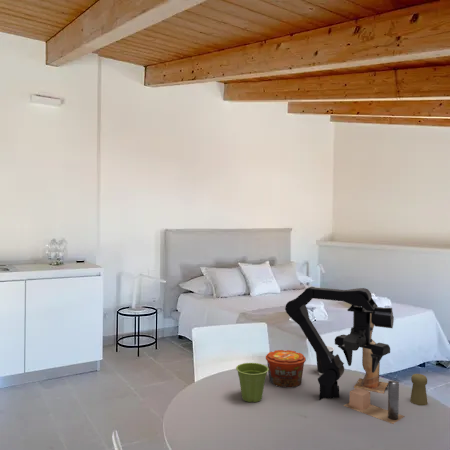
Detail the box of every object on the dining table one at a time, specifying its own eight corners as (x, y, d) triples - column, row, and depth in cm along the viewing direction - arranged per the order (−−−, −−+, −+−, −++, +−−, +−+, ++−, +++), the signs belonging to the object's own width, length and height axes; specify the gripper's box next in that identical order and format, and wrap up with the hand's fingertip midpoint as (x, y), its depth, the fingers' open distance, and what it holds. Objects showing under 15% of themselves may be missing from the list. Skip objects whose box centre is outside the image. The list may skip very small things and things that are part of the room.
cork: (430, 410, 153) (430, 378, 153) (411, 408, 154) (412, 377, 154) (425, 403, 159) (426, 372, 158) (407, 401, 160) (408, 371, 160)
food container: (301, 391, 168) (301, 363, 168) (260, 385, 174) (260, 358, 173) (308, 377, 183) (309, 351, 183) (271, 372, 189) (271, 347, 188)
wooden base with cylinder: (343, 408, 153) (343, 372, 152) (355, 402, 158) (356, 366, 158) (392, 427, 139) (393, 387, 139) (404, 419, 145) (405, 381, 145)
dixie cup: (337, 376, 184) (337, 350, 184) (319, 377, 183) (319, 351, 182) (328, 370, 192) (328, 344, 192) (311, 371, 190) (311, 345, 190)
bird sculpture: (357, 383, 178) (356, 303, 178) (388, 387, 173) (387, 305, 173) (353, 393, 168) (351, 309, 167) (386, 398, 163) (384, 311, 162)
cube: (349, 405, 153) (349, 391, 152) (357, 401, 156) (357, 387, 156) (362, 410, 149) (362, 395, 149) (370, 406, 152) (370, 391, 152)
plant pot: (231, 402, 158) (231, 371, 158) (242, 390, 169) (242, 361, 169) (262, 408, 153) (263, 375, 153) (272, 395, 164) (272, 365, 164)
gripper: (325, 323, 157) (325, 367, 157) (374, 333, 143) (374, 381, 143) (343, 318, 165) (343, 360, 165) (391, 328, 151) (390, 373, 151)
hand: (361, 368), depth 156 cm, fingers open, 9 cm apart
